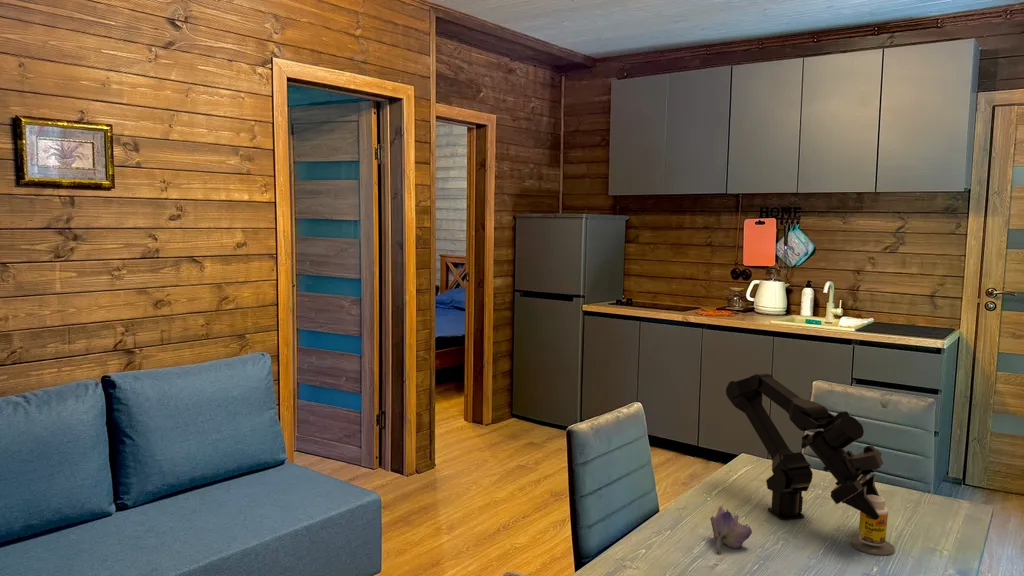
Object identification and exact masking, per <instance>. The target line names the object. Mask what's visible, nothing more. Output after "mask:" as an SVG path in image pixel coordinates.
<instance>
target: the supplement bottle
mask: <svg viewBox="0 0 1024 576" xmlns="http://www.w3.org/2000/svg"><path fill="white" fill-rule="evenodd" d="M867 497H868V499H869V500H870V502H871V503H872V505H873V507H874V508H875V510H876V511H877V513H878V515H879V518H878V519H876V520H875V519H873V518H872V517H870V516H868V515H866V514H864V513H863V512H861V511H859V520H858V521H859V523H858V532H857V533H858V535H857V536H858V538H859V539H860V540H861V541H862V542H864V543H866V544H868V545H873V546H881V545H883V544H884V543H885V541H887V540H886V537H887V527H888V517H889V508H887V507H886V499H885V498H884V497H882V496H880V495H879V496H877V495H867Z"/></svg>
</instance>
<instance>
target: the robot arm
mask: <svg viewBox="0 0 1024 576" xmlns="http://www.w3.org/2000/svg"><path fill="white" fill-rule="evenodd" d="M725 394H726V396H727V399H728V400H729V401H730V403H731V404H732V405H733V407H734V408H736V409H738V410H739V411H741V412H742V413H744V414H745V416H746V417H747V419H748V421H749V422H750V424H751V426H752V428H753V429H754V431H755V433H756V434H757V436H758V437H759V439H760V441H761V442H762V444H763V446H764V448H765V450H766V451H767V453H768V455H769V456H770V458H771V472H772V475H771V476H770V477H768V478H767V479H766V480H765V481H766V482H765V483H766V488H767V489H768V490H770V491H771V493H772V494H771V506H770V507H767V511H769V512H770V513H772V514H773V515H775V517H777V518H778V519H780V520H795V519H804V518H805V517H806V515H805V514H803V513H802V512H803V503H804V497H803V492H808V490H809V488H810V485H811V483H812V482H813V474H814V473H813V471H812V468H811V467H812V465H811V464H810V463H809V461H808V460H807V458H806V457H805V455H804V453H803V452H801V451H798V452H794V451H793V450H791V449H790V447H789V445H787V443H786V441H785V439H784V438H783V436H782V435H781V433H780V432H779V430H778V428H777V427H776V425H775V423H774V422H773V420H772V418H771V417H770V415H769V414H768V411H767V410H766V409H765V407H764V405H763V398H764V397H763V396H765V398H766V397H767V398H768V399H769V400H770V401H771V402H773V403H774V404H776V405H777V406H778V407H780V408H781V409H782V410H784V411H785V412H786V413H787V414H788V418H789V421H790V422H791V423H792V424H793V425H794V426H795V427H796V428H797V429H798V430H799V431H801V432H808V431H815V430H816V431H815V432H813V433H811V434H809V433H806V434H804V435H803V436H801V447H800V448H801V449H806V448H807V447H809V448H810V449H811V451H812V452H813V453H814V455H816V457H817V458H818V460H820V461H821V463H822V464H823V465H824V467H822V469H823V470H824V471H825V472H829V473H830V474H831V475H832V477H833V478H834V479H835V480H836V482H835V485H836V486H835V487H834V488H833V489H831V492H830V498H831V500H832V501H833V502H834V503H835V505H838V504H840V503H842V504H846V505H847V506H849V507H852V508H853V509H855V510H857V511H859V512H860V511H861V512H863V513H864V514H866V515H868V516H870V517H872V518H873V519H875V520H876V519H878V518H879V515H878V513H877V511H876V510H875V508H874V507H873V505H872V503H871V502H870V500H869V499H868V497H867V495H877V496H880V494H879V492H878V490H877V488H876V484H875V483H876V482H875V481H876V477H877V474H876V472H877V470H878V469H881V468H882V465H884V461H883V458H882V452H880V450H879V449H876V448H875V446H873V444H871V445H866V446H864V447H863V452H859V453H858V454H854V453H853V452H852V451H851V450H849V449H848V450H845V448H847V447H849V446H850V445H852V444H853V443H855V442H857V441H858V440H860V439H861V438H863V436H864V432H865V431H864V428H863V425H862V423H861V422H859V420H857V419H856V418H855V417H853V416H851V415H850V414H849V412H848V411H847V410H846V411H839V412H837V413H836V414H835V415H834V414H832V413H831V412H829V410H828V409H827V407H825V406H824V405H822V404H820V403H818V402H815V401H814V400H810V399H809V400H808V399H805V398H802V397H800V396H799V395H797V394H796V393H795V392H794V391H792V390H791V389H789V388H788V387H786V386H785V385H783V384H782V383H781V382H780V381H778V380H776V379H775V378H774V377H773V375H772V374H771V373H770V374H769V373H768V372H767V373H755V374H753V375H750V376H749V377H746V378H742V379H740V380H731V381H729V382H728V383H727V386H726V388H725ZM870 474H873V475H870Z"/></svg>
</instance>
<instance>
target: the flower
mask: <svg viewBox="0 0 1024 576" xmlns="http://www.w3.org/2000/svg"><path fill="white" fill-rule="evenodd" d="M739 518H740V516H739V514H734V515H733V514H732V512H730V511H729V510H728V509H723V506H719V508H718V510H717V513H716V515H715V516H714V515H711V517H710V518H709V520H710V522H711V523H710V524H711V527H712V528H711V529H712V533H713V536H712V537H713V538H714V539H715V540H716V542H715V547H716V551H717V552H716V553H717V555H720V554H721V552H722V551H721V549H722V547H723V544H726V545H727V546H728V547H730V548H731V547H732V548H733V549H739V547H740V548H742V547H743V544H744V543H745V541H748V539H749V538H750V537H751V534H753V530H752V528H751V526H750V525H748V524H742V523H740V522H739ZM719 553H720V554H719Z"/></svg>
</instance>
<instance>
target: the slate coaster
mask: <svg viewBox="0 0 1024 576" xmlns="http://www.w3.org/2000/svg"><path fill="white" fill-rule="evenodd" d="M849 542H850V543H849V544H850V545H851V546H852V547H853V548H854V549H856V550H858V551H859V552H862V553H865V554H867V555H872V556H877V557H882V556H884V557H887V556H891V555H893V554H895V552H896V551H895V550H896V548H895V546H894V545H893V544H892V543H891V542H888V541H887V540H885V543H884V544H883V545H881V546H873V545H868V544H866V543H864V542H862V541H861V540H860V539H859V538H858V535H856V536H853V537H851V538H850V541H849Z"/></svg>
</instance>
